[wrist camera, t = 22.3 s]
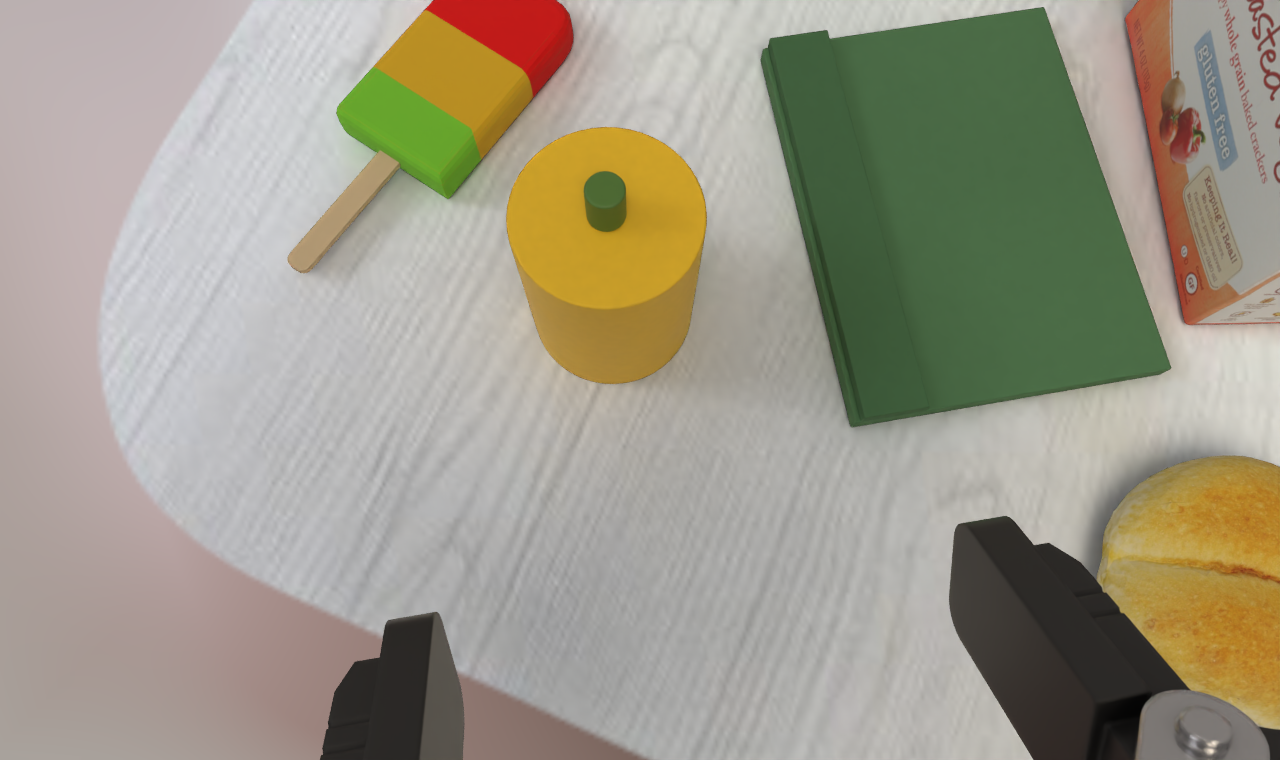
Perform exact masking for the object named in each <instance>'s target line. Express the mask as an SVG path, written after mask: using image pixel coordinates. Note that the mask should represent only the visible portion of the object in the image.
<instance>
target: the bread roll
mask: <svg viewBox="0 0 1280 760" xmlns="http://www.w3.org/2000/svg"><path fill="white" fill-rule="evenodd" d="M1097 582H1098V583H1099V584H1100V586H1101V587H1102V591H1103V592H1104V593H1105V592H1106V593H1107V594H1108V595H1109V596H1110V597H1111V598H1112V599H1113V601H1114V602H1115V603H1116V604H1117V605H1118V606H1119V608H1120V612H1121V613H1125V615H1126V616H1127V617H1128V618H1129V619H1130V620H1131V622H1132V623H1133V624H1134V625H1135V626H1136V627H1137V629H1138V630H1139V631H1140V632H1141V633H1142V634H1143V636H1144V637H1145V638H1146V639H1147V640H1148V641H1149V642H1150V644H1151V645H1152V646H1153V647H1154V648H1155V649H1156V651H1157V652H1158V653H1159V654H1160V655H1161V656H1162V658H1163V659H1164V660H1165V661H1166V662H1167V663H1168V665H1169V666H1170V667H1171V668H1172V669H1173V670H1174V672H1175V673H1176V674H1177V675H1178V676H1179V677H1180V678H1181V680H1182V681H1183V682H1184V683H1185V684H1186V685H1187V687H1188V688H1189V689H1190V690H1191V691H1197V692H1202V693H1206V694H1209V695H1212V696H1215V697H1217V698H1220V699H1222V700H1224V701H1226V702H1228V703H1230V704H1232V705H1233V706H1235V707H1237V708H1238V709H1240V710H1241V711H1242V712H1244V713H1245V714H1246V715H1247V716H1248V717H1250V718H1251V719H1252V720H1253V721H1254V722H1255V723H1256V725H1257V726H1259V727H1264V728H1271V729H1279V730H1280V467H1278V466H1276V465H1274V464H1272V463H1268V462H1265V461H1261V460H1258V459H1254V458H1250V457H1245V456H1211V457H1205V458H1201V459H1195V460H1190V461H1186V462H1182V463H1179V464H1177V465H1174V466H1172V467H1170V468H1166V469H1164V470H1162V471H1160V472H1158V473H1156V474H1154V475H1152V476H1150V477H1149V478H1148V479H1147V480H1145V481H1143V482H1141V483H1140V484H1138V485H1137V486H1136V487H1135V488H1134V489H1132V490H1131V491H1130V492H1129V493H1128V494H1127V495H1126V497H1125V498H1124V499H1123V500H1122V501H1121V503H1120V504H1119V505H1118V507H1117V508H1116V509H1115V510H1114V512H1113V514H1112V516H1111V518H1110V520H1109V522H1108V524H1107V526H1106V528H1105V532H1104V534H1103V550H1102V561H1101V564H1100V567H1099V571H1098V573H1097Z"/></svg>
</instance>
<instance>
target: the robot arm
mask: <svg viewBox="0 0 1280 760" xmlns="http://www.w3.org/2000/svg"><path fill="white" fill-rule="evenodd" d="M949 605H950V612H951V616H952V620H953V624H954V627H955V629H956V632H957V634H958V636H959V638H960V640H961V641H962V643H963V645H964V646H965V648H966V650H967V651H968V653H969V655H970V656H971V658H972V659H973V661H974V663H975V664H976V666H977V668H978V669H979V671H980V673H981V674H982V676H983V678H984V679H985V681H986V682H987V684H988V686H989V687H990V689H991V691H992V692H993V694H994V696H995V697H996V699H997V700H998V702H999V704H1000V705H1001V707H1002V709H1003V710H1004V712H1005V714H1006V715H1007V717H1008V718H1009V720H1010V722H1011V723H1012V725H1013V727H1014V728H1015V730H1016V732H1017V733H1018V735H1019V737H1020V738H1021V740H1022V741H1023V743H1024V745H1025V746H1026V748H1027V750H1028V751H1029V753H1030V755H1031V756H1032V758H1033V759H1034V760H1280V730H1279V729H1271V728H1264V727H1259V726H1257V725H1256V723H1255V722H1254V721H1253V720H1252V719H1251V718H1250V717H1248V716H1247V715H1246V714H1245V713H1244V712H1242V711H1241V710H1240V709H1238V708H1237V707H1235V706H1233V705H1232V704H1230V703H1228V702H1226V701H1224V700H1222V699H1220V698H1217V697H1215V696H1212V695H1209V694H1206V693H1202V692H1197V691H1191V690H1190V689H1189V688H1188V687H1187V685H1186V684H1185V683H1184V682H1183V681H1182V680H1181V678H1180V677H1179V676H1178V675H1177V674H1176V673H1175V672H1174V670H1173V669H1172V668H1171V667H1170V666H1169V665H1168V663H1167V662H1166V661H1165V660H1164V659H1163V658H1162V656H1161V655H1160V654H1159V653H1158V652H1157V651H1156V649H1155V648H1154V647H1153V646H1152V645H1151V644H1150V642H1149V641H1148V640H1147V639H1146V638H1145V637H1144V636H1143V634H1142V633H1141V632H1140V631H1139V630H1138V629H1137V627H1136V626H1135V625H1134V624H1133V623H1132V622H1131V620H1130V619H1129V618H1128V617H1127V616H1126V615H1125V613H1121V612H1120V608H1119V606H1118V605H1117V604H1116V603H1115V602H1114V601H1113V599H1112V598H1111V597H1110V596H1109V595H1108V594H1107V593H1106V592H1105V593H1104V592H1103V591H1102V587H1101V586H1100V584H1099V583H1098V582H1097V581H1096V580H1095V579H1094V577H1093V576H1092V575H1091V574H1090V573H1089V572H1088V570H1087V569H1086V568H1085V567H1084V566H1083V565H1082V563H1081V562H1079V561H1077V560H1076V559H1074V558H1073V557H1071V556H1069V555H1068V554H1066V553H1064V552H1063V551H1061V550H1060V549H1058V548H1056V547H1055V546H1053V545H1052V544H1050V543H1045V544H1039V545H1033V544H1032V542H1031V541H1030V540H1029V539H1028V537H1027V536H1026V535H1025V534H1024V533H1023V531H1022V530H1021V529H1020V528H1019V526H1018V525H1017V524H1016V523H1015V522H1014V521H1013V520H1012V519H1011V518H1010V517H1007V516H1002V517H996V518H990V519H984V520H978V521H973V522H967V523H961V524H958V525H957V527H956V529H955V532H954V542H953V554H952V567H951V580H950V592H949ZM328 725H329V727H328V729H327V730H326V735H325V739H324V744H323V748H322V749H323V755H321V758H320V760H463V740H464V707H463V698H462V692H461V686H460V682H459V678H458V675H457V671H456V668H455V664H454V661H453V657H452V654H451V650H450V647H449V643H448V640H447V636H446V633H445V630H444V626H443V623H442V619H441V617H440V615H439V613H438V612H432V613H427V614H421V615H415V616H409V617H403V618H397V619H392V620H388V621H387V623H386V625H385V629H384V635H383V641H382V647H381V653H380V658H374V659H369V660H363V661H357V662H355V663H354V664H353V665H352V667H351V668H350V670H349V671H348V673H347V674H346V676H345V677H344V679H343V680H342V682H341V683H340V685H339V686H338V688H337V689H336V691H335V693H334V697H333V702H332V707H331V712H330V716H329V721H328Z"/></svg>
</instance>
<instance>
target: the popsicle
mask: <svg viewBox="0 0 1280 760" xmlns="http://www.w3.org/2000/svg"><path fill="white" fill-rule="evenodd" d="M572 44H573V29H572V23H571V18H570V15H569V13H568V12H567V10H566V9H565V8H564V6H563V5H562V4H560V3H559V2H558V1H556V0H433V1H432V2H431V3H430V5H429V6H428V7H427V8H426V9H425V10H424V11H423V12H422V13H421V15H420V16H419V17H418V18H417V19H416V20H415V21H414V22H413V23H412V24H411V26H410V27H409V28H408V29H407V30H406V31H405V32H404V33H403V34H402V36H401V37H400V38H399V39H398V40H397V41H396V42H395V43H394V44H393V46H392V47H391V48H390V49H389V50H388V51H387V52H386V53H385V54H384V55H383V57H382V58H381V59H380V60H379V61H378V62H377V63H376V64H375V65H374V67H373V68H372V69H371V70H370V71H369V72H368V73H367V74H366V75H365V77H364V78H363V79H362V80H361V81H360V82H359V83H358V84H357V85H356V87H355V88H354V89H353V90H352V91H351V92H350V93H349V94H348V95H347V96H346V98H345V99H344V100H343V101H342V102H341V103H340V104H339V106H338V107H337V112H336V114H337V116H338V119H339V121H340V123H341V125H342V126H343V128H344V130H345V131H346V132H347V133H348V134H349V135H351V136H352V137H354V138H355V139H357V140H358V141H360V142H361V143H363V144H364V145H366V146H368V147H369V148H371V149H372V150H374V151H375V152H377V154H376V155H375V156H374V158H373V159H372V160H371V161H370V162H369V163H368V164H367V166H366V167H365V168H364V169H363V170H362V171H361V172H360V174H359V175H358V176H357V177H356V178H355V179H354V180H353V182H352V183H351V184H350V185H349V186H348V187H347V188H346V190H345V191H344V192H343V193H342V194H341V195H340V196H339V198H338V199H337V200H336V201H335V202H334V203H333V204H332V206H331V207H330V208H329V209H328V210H327V211H326V212H325V214H324V215H323V216H322V217H321V218H320V219H319V220H318V222H317V223H316V224H315V225H314V226H313V227H312V228H311V230H310V231H309V232H308V233H307V234H306V235H305V236H304V238H303V239H302V240H301V241H300V242H299V243H298V244H297V246H296V247H295V248H294V249H293V250H292V251H291V253H290V254H289V255H288V263H289V264H290V265H291V267H293V268H294V269H295V270H296V271H298V272H300V273H307V272H309V271H310V270H312V269H313V267H314V266H315V265H316V264H317V263H318V262H319V261H320V259H321V258H322V257H323V256H324V255H325V254H326V252H327V251H328V250H329V249H330V248H331V247H332V245H333V244H334V243H335V242H336V241H337V240H338V238H339V237H340V236H341V235H342V234H343V233H344V232H345V230H346V229H347V228H348V227H349V226H350V225H351V223H352V222H353V221H354V220H355V219H356V218H357V216H358V215H359V214H360V213H361V212H362V211H363V209H364V208H365V207H366V206H367V205H368V204H369V203H370V201H371V200H372V199H373V198H374V197H375V196H376V194H377V193H378V192H379V191H380V190H381V189H382V187H383V186H384V185H385V184H386V183H387V182H388V180H389V179H390V178H391V177H392V176H393V175H394V174H395V172H396V171H397V170H398V169H399V168H401V169H403V170H404V171H406V172H407V173H409V174H410V175H412V176H413V177H415V178H416V179H418V180H419V181H421V182H422V183H424V184H425V185H427V186H428V187H430V188H431V189H433V190H435V191H436V192H438V193H439V194H441V195H442V196H444V197H445V198H447V199H449V198H450V197H451V196H452V194H453V193H454V192H455V191H456V190H457V188H458V187H459V186H460V185H461V184H462V182H463V181H464V180H465V179H466V178H467V176H468V175H469V174H470V173H471V172H472V171H473V169H474V168H475V167H476V166H477V165H478V163H479V162H480V161H481V160H482V159H483V157H484V156H485V155H486V154H487V153H488V151H489V150H490V149H491V148H492V147H493V145H494V144H495V143H496V142H497V141H498V139H499V138H500V137H501V136H502V135H503V133H504V132H505V131H506V130H507V129H508V127H509V126H510V125H511V124H512V123H513V121H514V120H515V119H516V118H517V117H518V116H519V114H520V113H521V112H522V111H523V110H524V108H525V107H526V106H527V105H528V104H529V102H530V101H531V100H532V99H533V98H534V96H535V95H536V94H537V93H538V92H539V90H540V89H541V88H542V87H543V86H544V84H545V83H546V82H547V81H548V80H549V78H550V77H551V76H552V75H553V74H554V72H555V71H556V70H557V69H558V68H559V66H560V65H561V64H562V63H563V61H564V60H565V58H566V57H567V55H568V54H569V52H570V51H571V48H572Z"/></svg>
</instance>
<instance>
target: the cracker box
mask: <svg viewBox="0 0 1280 760" xmlns="http://www.w3.org/2000/svg"><path fill="white" fill-rule="evenodd" d="M1125 22H1126V24H1127V29H1128V34H1129V37H1130V43H1131V46H1132V53H1133V58H1134V63H1135V68H1136V74H1137V79H1138V84H1139V89H1140V93H1141V98H1142V103H1143V109H1144V114H1145V119H1146V124H1147V129H1148V135H1149V140H1150V145H1151V150H1152V156H1153V161H1154V166H1155V171H1156V176H1157V182H1158V187H1159V192H1160V197H1161V202H1162V207H1163V213H1164V218H1165V223H1166V229H1167V234H1168V239H1169V244H1170V249H1171V255H1172V260H1173V264H1174V270H1175V276H1176V281H1177V286H1178V291H1179V297H1180V303H1181V306H1182V312H1183V317H1184V322H1185V323H1186V324H1188V325H1199V324H1258V323H1280V0H1139V1H1138V2H1137V3H1136V5H1135V6H1134V7H1133V8H1132V10H1131V11H1130V12H1129V14H1128V15H1127V16H1126V18H1125Z"/></svg>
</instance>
